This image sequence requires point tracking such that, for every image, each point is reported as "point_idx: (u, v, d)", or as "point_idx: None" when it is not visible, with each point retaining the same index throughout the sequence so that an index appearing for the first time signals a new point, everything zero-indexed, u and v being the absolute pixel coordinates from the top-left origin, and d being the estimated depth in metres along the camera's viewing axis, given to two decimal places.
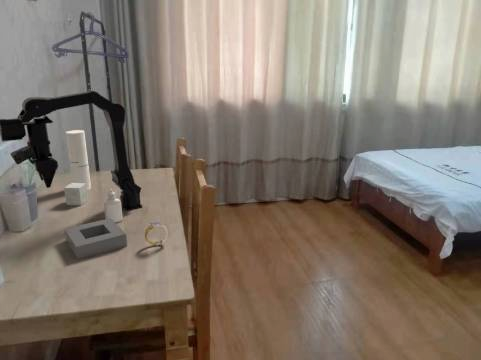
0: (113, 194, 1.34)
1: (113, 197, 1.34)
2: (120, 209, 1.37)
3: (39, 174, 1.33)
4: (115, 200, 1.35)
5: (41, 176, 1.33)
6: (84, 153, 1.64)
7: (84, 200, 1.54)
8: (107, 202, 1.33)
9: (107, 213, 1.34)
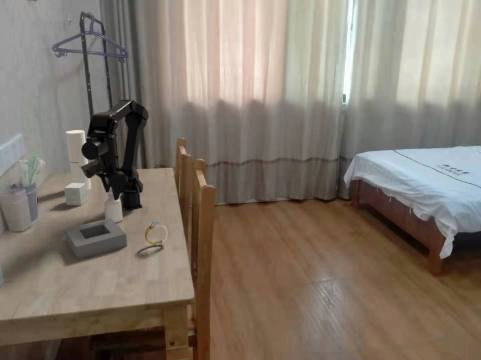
0: None
1: (113, 197, 1.34)
2: (120, 209, 1.37)
3: (104, 186, 1.37)
4: None
5: (106, 188, 1.38)
6: None
7: (84, 200, 1.54)
8: (107, 202, 1.33)
9: (107, 213, 1.34)
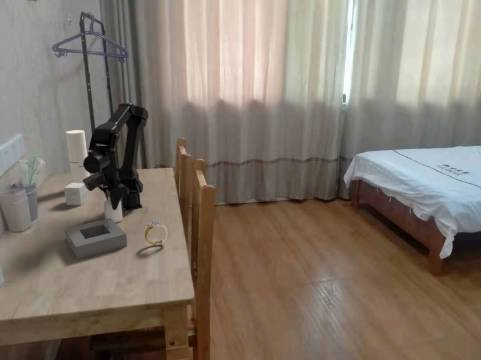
0: None
1: None
2: (120, 209, 1.36)
3: None
4: None
5: None
6: (84, 153, 1.64)
7: (84, 200, 1.54)
8: (107, 202, 1.33)
9: (107, 213, 1.34)
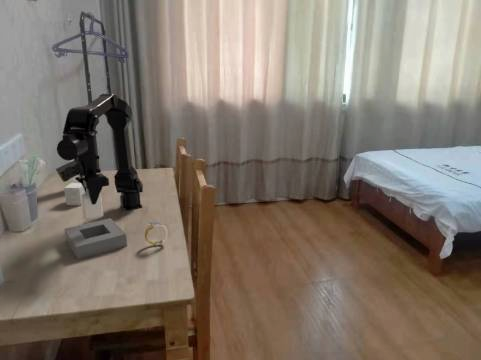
0: None
1: None
2: (100, 203, 1.19)
3: None
4: None
5: None
6: None
7: None
8: (85, 195, 1.16)
9: (85, 208, 1.16)
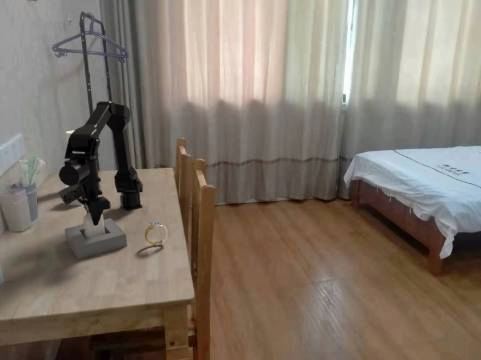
0: None
1: None
2: (102, 224, 1.21)
3: None
4: None
5: None
6: None
7: None
8: (87, 217, 1.17)
9: (87, 229, 1.18)
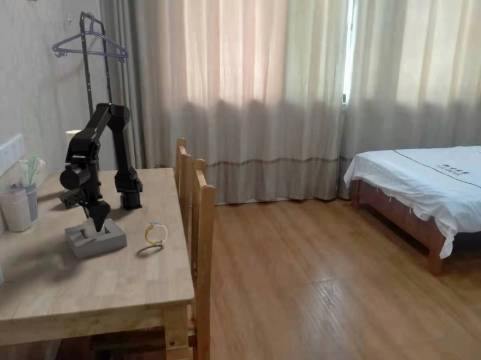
0: None
1: None
2: (103, 229, 1.21)
3: (86, 216, 1.22)
4: None
5: (88, 218, 1.23)
6: None
7: None
8: (87, 222, 1.18)
9: (88, 234, 1.19)
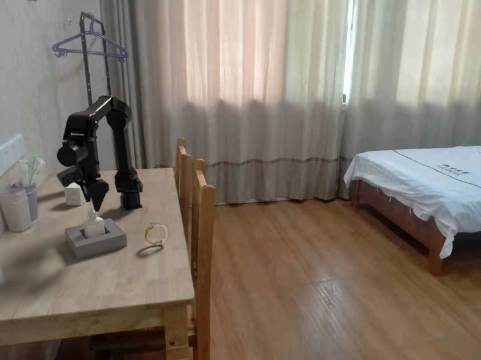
0: (94, 213, 1.18)
1: (94, 216, 1.18)
2: (103, 229, 1.21)
3: (84, 196, 1.21)
4: (97, 219, 1.19)
5: (86, 198, 1.22)
6: None
7: (84, 200, 1.54)
8: (87, 222, 1.18)
9: (88, 234, 1.19)
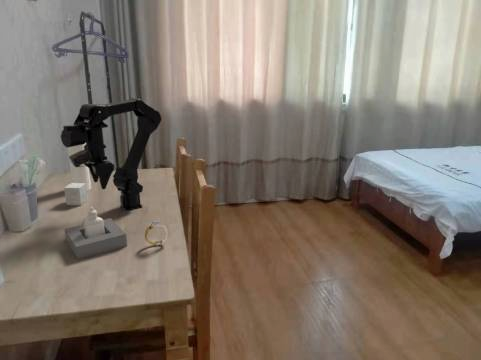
0: (94, 213, 1.18)
1: (94, 216, 1.18)
2: (103, 229, 1.21)
3: (92, 176, 1.40)
4: (97, 219, 1.19)
5: (94, 178, 1.40)
6: None
7: (84, 200, 1.54)
8: (87, 222, 1.18)
9: (88, 234, 1.19)
